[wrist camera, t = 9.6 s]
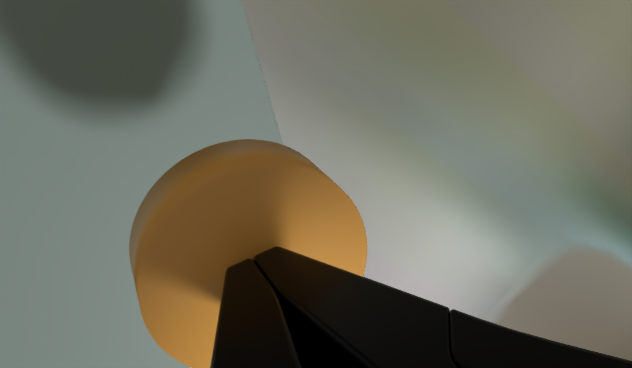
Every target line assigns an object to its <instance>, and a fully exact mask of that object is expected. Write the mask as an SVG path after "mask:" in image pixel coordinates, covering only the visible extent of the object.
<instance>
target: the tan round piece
mask: <svg viewBox="0 0 632 368" xmlns="http://www.w3.org/2000/svg"><path fill="white" fill-rule="evenodd" d="M275 246H279V247H282V248H285V249H288V250H291V251H293V252H296V253H299V254H302V255H304V256H307V257H310V258H313V259H315V260H318V261H321V262H324V263H326V264H329V265H332V266H335V267H338V268H340V269H343V270H346V271H349V272H351V273H354V274H357V275H360V276H362V277H363V275H364V271H365V267H366V259H367V238H366V232H365V227H364V224H363V221H362V218H361V216H360V214H359V212H358V209H357V207H356V206H355V204H354V203H353V202H352V200H351V199H350V197H349V196H348V195H347V194H346V193H345V192H344V191H343V190H342V189H341V188H340V187H339V186H338V185H337V184H336V183H334V182H333V181H332V180H331V179H330V178H329V177H328V176H327V175H326V174H324V173H323V172H322V171H321V170H320V169H319V168H318V167H317V166H316V165H314V164H313V163H312V162H311V161H310V160H309V159H307V158H306V157H305V156H303V155H302V154H301V153H299V152H297V151H295V150H293V149H291V148H290V147H287V146H284V145H281V144H279V143H275V142H270V141H266V140H256V139H242V140H232V141H226V142H221V143H218V144H215V145H211V146H208V147H205V148H203V149H201V150H199V151H197V152H194V153H192V154H190V155H189V156H187V157H186V158H184V159H182V160H181V161H179V162H178V163H176V164H175V165H174V166H173V167H171V168H170V169H169V170H168V171H166V172H165V173H164V174H163V175H162V176H161V177H160V178H159V179H158V180H157V181H156V183H155V184H154V185H153V186H152V188H151V189H150V190H149V192H148V193H147V194H146V196H145V198H144V199H143V201H142V203H141V205H140V206H139V209H138V211H137V213H136V216H135V218H134V221H133V225H132V229H131V233H130V242H129V257H130V265H131V269H132V274H133V278H134V283H135V287H136V292H137V297H138V301H139V306H140V310H141V315H142V318H143V320H144V323H145V325H146V328H147V330H148V331H149V333H150V334H151V336H152V338H153V339H154V341H155V342H156V343H157V344H158V345H159V346H160V347H161V348H162V349H163V350H164V351H165V352H166V353H167V354H169V355H170V356H171V357H172V358H174V359H176V360H177V361H179V362H181V363H183V364H184V365H187V366H189V367H192V368H210V365H211V358H212V352H213V346H214V340H215V334H216V328H217V322H218V316H219V310H220V303H221V297H222V291H223V285H224V279H225V273H226V270H227V268H228V267H230V266H232V265H235V264H237V263H239V262H241V261H244V260H246V259H252V260H254V257H255V256H256V255H257V254H259V253H262V252H264V251H266V250H268V249H270V248H273V247H275Z"/></svg>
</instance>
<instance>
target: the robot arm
mask: <svg viewBox="0 0 632 368" xmlns="http://www.w3.org/2000/svg"><path fill="white" fill-rule="evenodd" d="M210 368H632V361H629V360H625V359H621V358H618V357H614V356H610V355H606V354H602V353H598V352H594V351H590V350H586V349H582V348H578V347H575V346H571V345H566V344H563V343H559V342H555V341H551V340H548V339H544V338H541V337H537V336H534V335H530V334H526V333H523V332H519V331H516V330H512V329H509V328H506V327H503V326H500V325H497V324H494V323H491V322H488V321H485V320H482V319H479V318H476V317H474V316H471V315H468V314H465V313H463V312H460V311H457V310H454V309H453V310H451V311H450V310H449V308H448V307H445V306H443V305H440V304H437V303H434V302H431V301H429V300H426V299H423V298H420V297H418V296H415V295H412V294H409V293H407V292H404V291H401V290H398V289H396V288H393V287H390V286H387V285H385V284H382V283H379V282H376V281H373V280H371V279H368V278H365V277H362V276H360V275H357V274H354V273H351V272H349V271H346V270H343V269H340V268H338V267H335V266H332V265H329V264H326V263H324V262H321V261H318V260H315V259H313V258H310V257H307V256H304V255H302V254H299V253H296V252H293V251H291V250H288V249H285V248H282V247H279V246H275V247H273V248H270V249H268V250H266V251H264V252H262V253H259V254H257V255H256V256H255V257H254V260H252V259H246V260H244V261H241V262H239V263H237V264H235V265H232V266H230V267H228V268H227V270H226V273H225V279H224V285H223V291H222V297H221V303H220V310H219V316H218V322H217V328H216V334H215V340H214V346H213V352H212V358H211V365H210Z"/></svg>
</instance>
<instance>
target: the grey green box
mask: <svg viewBox="0 0 632 368" xmlns="http://www.w3.org/2000/svg"><path fill="white" fill-rule="evenodd" d="M242 139H256V140H266V141H270V142H275V143H279V144H281V145H283V143H282V139H281V136H280V133H279V129H278V126H277V122H276V119H275V115H274V112H273V108H272V105H271V101H270V98H269V95H268V91H267V88H266V84H265V81H264V77H263V74H262V70H261V67H260V64H259V60H258V57H257V53H256V50H255V46H254V43H253V39H252V36H251V33H250V29H249V26H248V22H247V19H246V15H245V12H244V8H243V5H242V1H241V0H0V368H189V366H187V365H184V364H183V363H181V362H179V361H177V360H176V359H174V358H172V357H171V356H170V355H169V354H167V353H166V352H165V351H164V350H163V349H162V348H161V347H160V346H159V345H158V344H157V343H156V342H155V341H154V339H153V338H152V336H151V334H150V333H149V331H148V330H147V328H146V325H145V323H144V320H143V318H142V315H141V310H140V306H139V301H138V297H137V292H136V287H135V283H134V278H133V274H132V269H131V265H130V257H129V242H130V233H131V229H132V225H133V221H134V218H135V216H136V213H137V211H138V209H139V206H140V205H141V203H142V201H143V199H144V198H145V196H146V194H147V193H148V192H149V190H150V189H151V188H152V186H153V185H154V184H155V183H156V181H157V180H158V179H159V178H160V177H161V176H162V175H163V174H164V173H165V172H166V171H168V170H169V169H170V168H171V167H173V166H174V165H175V164H176V163H178V162H179V161H181V160H182V159H184V158H186V157H187V156H189V155H190V154H192V153H194V152H197V151H199V150H201V149H203V148H205V147H208V146H211V145H215V144H218V143H221V142H226V141H232V140H242Z"/></svg>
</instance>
